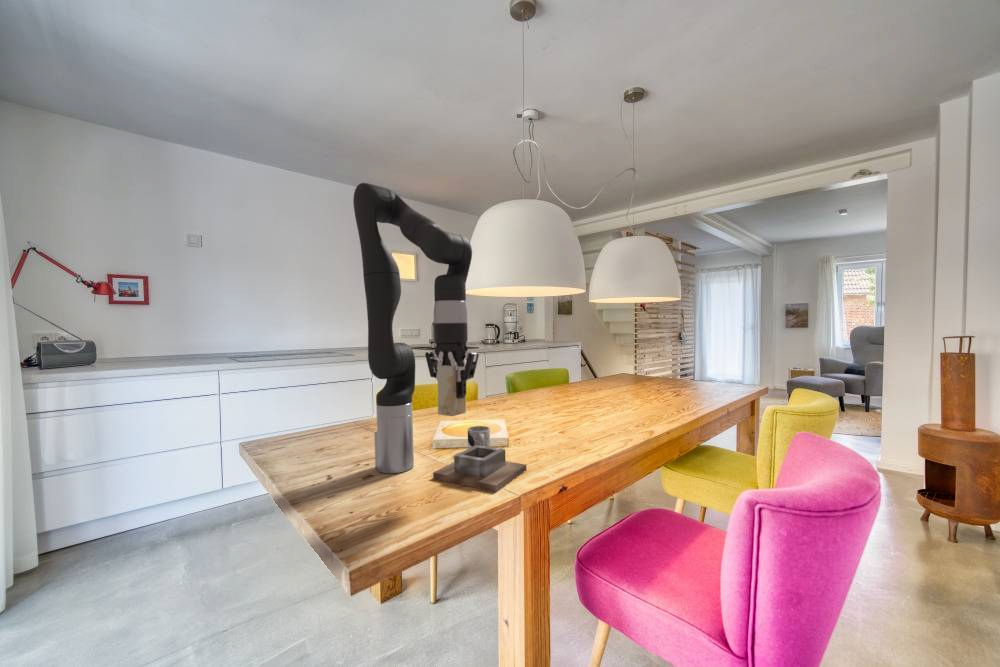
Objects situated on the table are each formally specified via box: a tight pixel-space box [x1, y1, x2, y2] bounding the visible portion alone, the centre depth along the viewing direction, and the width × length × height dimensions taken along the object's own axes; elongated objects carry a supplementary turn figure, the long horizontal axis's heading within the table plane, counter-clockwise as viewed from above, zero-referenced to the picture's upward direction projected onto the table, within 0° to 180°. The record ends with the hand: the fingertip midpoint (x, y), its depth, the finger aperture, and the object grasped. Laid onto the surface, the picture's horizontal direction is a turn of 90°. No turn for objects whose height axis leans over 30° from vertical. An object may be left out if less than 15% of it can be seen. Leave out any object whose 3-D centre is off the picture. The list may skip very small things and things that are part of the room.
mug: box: [467, 425, 491, 449], centre depth 115 cm, size 10×7×7 cm
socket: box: [432, 445, 527, 493], centre depth 97 cm, size 18×15×6 cm
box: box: [437, 365, 467, 417], centre depth 88 cm, size 5×4×11 cm
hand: (451, 396), depth 88 cm, fingers closed on box, 4 cm apart
